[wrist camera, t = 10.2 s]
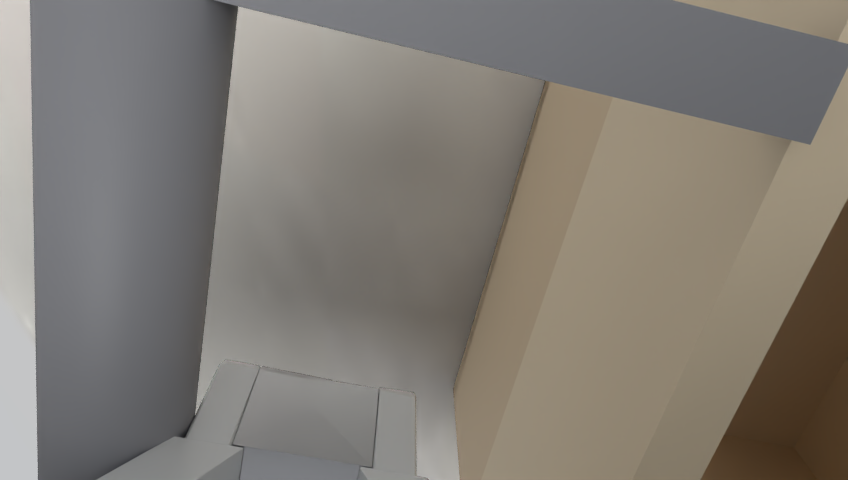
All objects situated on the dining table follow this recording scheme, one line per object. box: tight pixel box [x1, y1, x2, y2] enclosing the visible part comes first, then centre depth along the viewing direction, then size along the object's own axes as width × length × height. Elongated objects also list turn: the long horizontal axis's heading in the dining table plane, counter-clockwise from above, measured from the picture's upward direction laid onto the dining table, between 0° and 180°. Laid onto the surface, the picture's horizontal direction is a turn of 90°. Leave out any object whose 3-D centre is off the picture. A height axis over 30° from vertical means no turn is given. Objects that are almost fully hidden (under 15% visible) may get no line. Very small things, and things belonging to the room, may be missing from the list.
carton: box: [453, 81, 848, 480], centre depth 18 cm, size 14×18×10 cm
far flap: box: [30, 0, 848, 480], centre depth 10 cm, size 7×17×7 cm
